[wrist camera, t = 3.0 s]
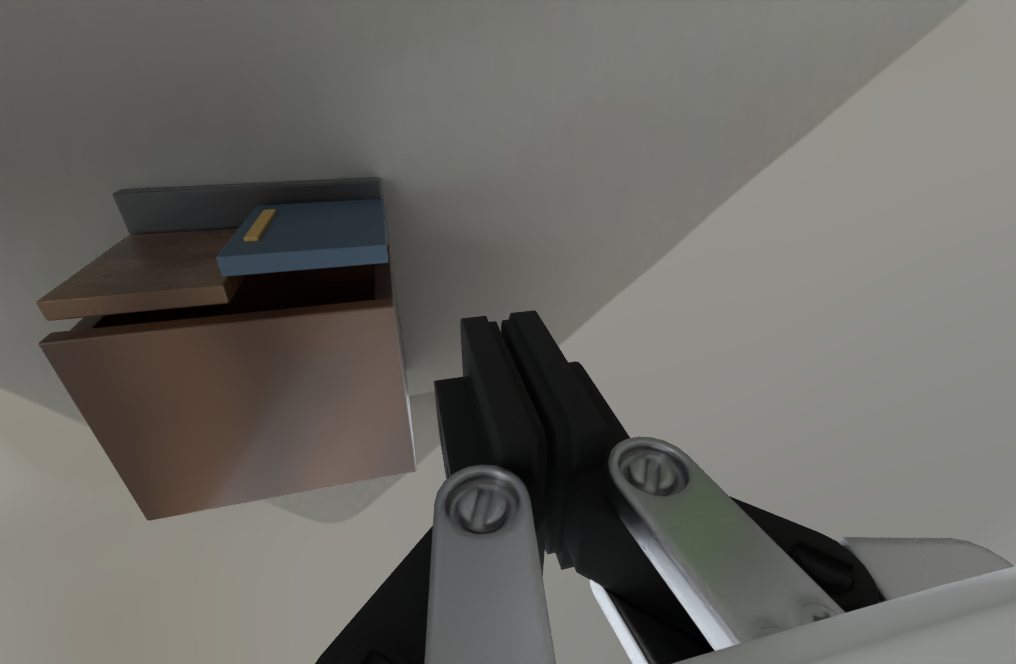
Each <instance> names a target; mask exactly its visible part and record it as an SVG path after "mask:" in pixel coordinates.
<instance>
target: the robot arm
mask: <svg viewBox="0 0 1016 664" xmlns="http://www.w3.org/2000/svg"><path fill="white" fill-rule="evenodd" d="M460 325H461V345H462V363H463V377H459V378H451V379H444V380H437V381H434V387H435V398H436V408H437V418H438V426H439V434H440V441H441V448H442V454H443V461H444V467H445V473H446V479H447V480H446V481H445V482H444V483H443V484H442V486H441V487H440V489H439V490H438V492H437V496H436V500H435V504H434V518H433V526H432V527H431V528H430V529H429V531H428V532H427V533H426V534H425V535H424V536H423V538H422V539H421V540H420V541H419V542H418V543H417V544H416V546H415V547H414V548H413V549H412V550H411V552H410V553H409V554H408V555H407V556H406V557H405V558H404V560H403V561H402V562H401V563H400V564H399V566H398V567H397V568H396V569H395V570H394V571H393V572H392V573H391V575H390V576H389V577H388V578H387V579H386V581H385V582H384V583H383V584H382V585H381V586H380V587H379V589H378V590H377V591H376V592H375V593H374V594H373V596H372V597H371V598H370V599H369V600H368V601H367V603H366V604H365V605H364V606H363V607H362V608H361V609H360V611H359V612H358V613H357V614H356V615H355V617H354V618H353V619H352V620H351V621H350V622H349V623H348V625H347V626H346V627H345V628H344V629H343V630H342V632H341V633H340V634H339V635H338V636H337V637H336V638H335V640H334V641H333V642H332V643H331V644H330V646H329V647H328V648H327V649H326V650H325V651H324V653H323V654H322V655H321V656H320V657H319V659H318V660H317V662H316V663H315V664H556V660H555V654H554V647H553V641H552V636H551V628H550V623H549V616H548V609H547V603H546V597H545V590H544V584H543V578H542V577H543V563H544V551H546V552H547V554H551V553H556V556H557V558H558V561H559V564H560V567H561V569H567V568H571V567H575V570H576V572H577V573H579V574H581V575H583V576H584V577H586V578H588V579H590V586H591V588H592V591H593V593H594V596H595V598H596V599H597V601H598V603H599V605H600V606H601V608H602V610H603V612H604V614H605V615H606V617H607V619H608V621H609V622H610V624H611V626H612V628H613V630H614V631H615V633H616V635H617V637H618V638H619V640H620V642H621V644H622V645H623V647H624V649H625V651H626V653H627V654H628V656H629V658H630V660H631V661H632V663H633V664H1016V566H1015V567H1014V566H1013V565H1012V564H1011V563H1009V562H1008V561H1007V560H1005V559H1004V558H1002V557H1000V556H999V555H997V554H995V553H994V552H992V551H990V550H988V549H987V548H984V547H982V546H979V545H976V544H974V543H971V542H969V541H964V540H958V539H952V538H862V537H859V538H858V537H857V538H856V537H843V539H842V540H841V542H840V543H838V542H837V541H835V540H833V539H831V538H829V537H827V536H825V535H823V534H821V533H819V532H817V531H814V530H812V529H809V528H807V527H804V526H802V525H799V524H797V523H794V522H792V521H789V520H787V519H784V518H782V517H779V516H777V515H774V514H772V513H770V512H767V511H765V510H762V509H759V508H757V507H754V506H752V505H750V504H747V503H745V502H742V501H739V500H737V499H735V498H732V497H729V496H728V495H727V494H726V493H725V492H724V491H723V490H722V489H721V488H720V487H719V486H718V485H717V484H716V483H715V482H714V481H713V480H712V479H711V478H710V477H709V476H708V475H707V474H706V473H705V472H704V471H703V470H702V469H701V468H700V467H699V466H698V465H697V464H696V463H695V462H694V461H693V460H692V459H691V458H690V457H689V456H688V455H687V454H686V453H684V452H683V451H682V450H680V449H679V448H678V447H676V446H674V445H672V444H670V443H668V442H666V441H663V440H659V439H656V438H651V437H635V438H630V437H629V436H628V434H627V433H626V431H625V429H624V428H623V426H622V425H621V423H620V422H619V420H618V419H617V417H616V416H615V414H614V413H613V412H612V410H611V408H610V407H609V405H608V404H607V402H606V401H605V399H604V398H603V396H602V395H601V393H600V392H599V390H598V389H597V387H596V386H595V384H594V383H593V381H592V380H591V378H590V377H589V375H588V374H587V372H586V371H585V369H584V368H583V366H582V365H581V364H580V363H579V362H569V363H568V362H567V360H566V358H565V357H564V355H563V354H562V352H561V350H560V349H559V347H558V346H557V344H556V342H555V341H554V339H553V338H552V336H551V334H550V333H549V331H548V329H547V328H546V326H545V325H544V323H543V321H542V320H541V318H540V317H539V315H538V313H537V312H536V311H526V312H516V313H511V314H510V317H509V320H503V321H502V324H501V331H500V329H499V327H498V324H497V322H496V321H493V322H488V319H487V317H486V316H480V317H471V318H462V319H461V323H460Z"/></svg>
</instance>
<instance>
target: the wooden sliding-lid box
mask: <svg viewBox="0 0 1016 664" xmlns="http://www.w3.org/2000/svg"><path fill="white" fill-rule="evenodd" d="M113 196H114V199H115V201H116V203H117V206H118V208H119V210H120V212H121V215H122V217H123V219H124V222H125V224H126V226H127V229H128V231H129V233H130V235H129V236H127V237H126V238H124V239H123V240H122V241H120V242H119V243H117V244H116V245H115V246H113V247H112V248H110V249H109V250H108V251H106V252H105V253H103V254H102V255H101V256H99V257H98V258H96V259H95V260H94V261H92V262H91V263H89V264H88V265H87V266H85V267H84V268H83V269H81V270H80V271H78V272H77V273H76V274H74V275H73V276H71V277H70V278H69V279H67V280H66V281H64V282H63V283H62V284H60V285H59V286H57V287H56V288H55V289H53V290H52V291H50V292H49V293H48V294H46V295H45V296H43V297H42V298H41V299H39V300H38V301H37V305H38V307H39V308H40V310H41V312H42V313H43V315H44V317H45V318H46V320H48V321H51V320H61V319H72V318H82V317H84V318H83V319H82V320H81V321H80V322H79V323H77V324H76V325H75V326H74V327H73V328H72V329H71V330H70V331H63V332H53V333H50V334H49V335H48V336H46V337H45V338H44V339H43V340H42V341H41V342H39V346H40V347H41V349H42V351H43V352H44V354H45V356H46V357H47V359H48V360H49V362H50V364H51V365H52V367H53V368H54V370H55V372H56V373H57V375H58V377H59V378H60V380H61V381H62V383H63V385H64V386H65V388H66V390H67V391H68V393H69V394H70V396H71V398H72V399H73V401H74V402H75V404H76V406H77V407H78V409H79V411H80V412H81V414H82V415H83V417H84V419H85V420H86V422H87V423H88V425H89V427H90V428H91V430H92V432H93V433H94V435H95V436H96V438H97V440H98V441H99V443H100V445H101V446H102V448H103V449H104V451H105V453H106V454H107V456H108V457H109V459H110V461H111V462H112V463H113V466H114V467H115V469H116V470H117V472H118V474H119V475H120V477H121V478H122V480H123V482H124V483H125V485H126V486H127V488H128V490H129V491H130V493H131V495H132V496H133V498H134V500H135V501H136V503H137V504H138V506H139V508H140V509H141V511H142V512H143V514H144V516H145V517H146V519H147V520H155V519H160V518H166V517H170V516H176V515H182V514H187V513H192V512H198V511H204V510H209V509H214V508H220V507H225V506H231V505H236V504H241V503H247V502H253V501H258V500H263V499H269V498H274V497H280V496H285V495H291V494H296V493H302V492H307V491H312V490H318V489H323V488H329V487H334V486H340V485H345V484H351V483H356V482H361V481H367V480H372V479H378V478H383V477H389V476H394V475H399V474H405V473H410V472H415V471H416V462H415V452H414V443H413V433H412V423H411V414H410V404H409V395H408V385H407V375H406V367H405V359H404V352H403V344H402V337H401V329H400V322H399V314H398V307H397V299H396V292H395V284H394V276H393V269H392V261H391V254H390V246H389V239H388V231H387V224H386V216H385V224H386V237H387V251H388V262H387V263H378V264H366V265H354V266H343V267H331V268H319V269H307V270H296V271H284V272H272V273H260V274H249V275H237V276H225V277H223V276H222V274H221V271H220V268H219V265H218V262H217V259H216V256H217V255H218V254H219V253H220V251H221V250H222V249H223V248H224V246H225V245H226V244H227V243H228V241H229V240H230V239H231V238H232V236H233V235H234V234H235V233H236V231H237V230H238V229H239V228H240V226H241V225H242V224H243V223H244V221H245V220H246V219H247V218H248V216H249V215H250V214H251V213H252V211H253V210H254V209H255V208H256V206H259V205H277V204H295V203H313V202H331V201H349V200H367V199H383V193H382V186H381V179H380V178H364V179H342V180H320V181H298V182H277V183H255V184H233V185H211V186H190V187H168V188H146V189H125V190H119V191H117V192H115V193H113ZM383 204H384V201H383ZM384 211H385V209H384Z"/></svg>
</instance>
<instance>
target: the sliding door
mask: <svg viewBox="0 0 1016 664" xmlns="http://www.w3.org/2000/svg"><path fill="white" fill-rule="evenodd" d="M216 259H217V262H218V265H219V268H220V271H221V274H222V276H223V277H225V276H237V275H249V274H260V273H272V272H284V271H296V270H307V269H319V268H331V267H343V266H354V265H366V264H378V263H387V262H388V251H387V237H386V224H385V211H384V204H383V199H367V200H349V201H331V202H313V203H295V204H277V205H259V206H256V208H255V209H254V210H253V211H252V213H251V214H250V215H249V216H248V218H247V219H246V220H245V221H244V223H243V224H242V225H241V226H240V228H239V229H238V230H237V231H236V233H235V234H234V235H233V236H232V238H231V239H230V240H229V241H228V243H227V244H226V245H225V246H224V248H223V249H222V250H221V251H220V253H219V254H218V255H217V256H216Z"/></svg>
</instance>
